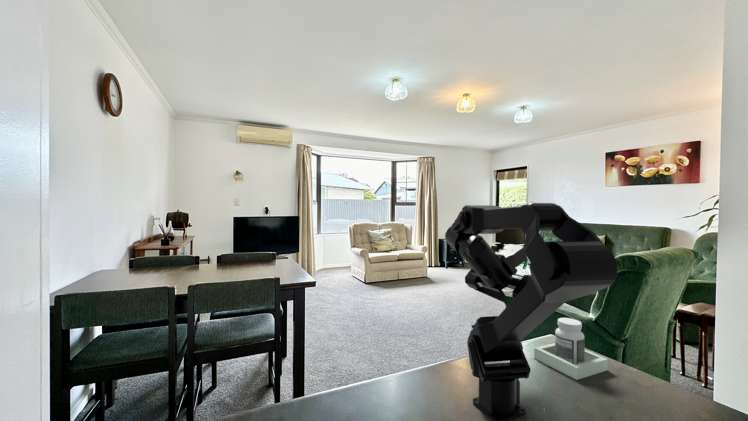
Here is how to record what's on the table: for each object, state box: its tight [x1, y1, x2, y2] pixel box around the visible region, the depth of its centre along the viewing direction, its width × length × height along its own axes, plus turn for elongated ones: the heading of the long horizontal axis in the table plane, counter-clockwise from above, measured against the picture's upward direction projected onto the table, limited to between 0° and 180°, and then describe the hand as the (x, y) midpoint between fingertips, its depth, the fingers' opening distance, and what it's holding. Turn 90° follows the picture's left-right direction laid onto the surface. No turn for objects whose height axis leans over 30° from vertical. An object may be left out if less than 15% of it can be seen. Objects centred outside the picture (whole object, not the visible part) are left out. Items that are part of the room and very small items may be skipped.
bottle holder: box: [533, 342, 609, 381], centre depth 72 cm, size 10×10×2 cm
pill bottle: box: [554, 317, 586, 365], centre depth 72 cm, size 6×6×10 cm
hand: (522, 306), depth 70 cm, fingers open, 9 cm apart
